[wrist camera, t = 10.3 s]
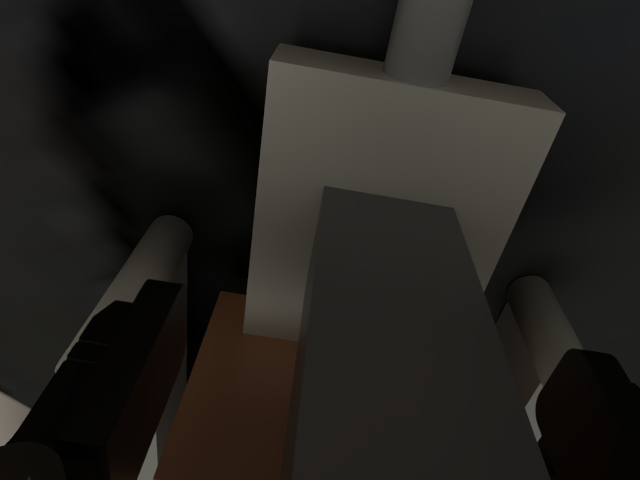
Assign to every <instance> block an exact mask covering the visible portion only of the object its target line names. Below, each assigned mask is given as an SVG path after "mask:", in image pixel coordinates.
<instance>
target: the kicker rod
mask: <svg viewBox="0 0 640 480" xmlns="http://www.w3.org/2000/svg"><path fill="white" fill-rule="evenodd" d="M472 4H473V0H398V5H397V9H396V14H395V18H394V22H393V27H392V31H391V36H390V40H389V44H388V49H387V53H386V58H385V62H381V61H376V60H370V59H365V58H359V57H354V56H348V55H343V54H337V53H332V52H326V51H321V50H315V49H310V48H304V47H299V46H293V45H288V44H283V43H280V44H279V45H278V47H277V48H276V50H275V52H274V53H273V55H272V56H271V58H270V60H269V69H268V79H267V89H266V100H265V110H264V120H263V130H262V141H261V151H260V161H259V172H258V182H257V192H256V203H255V213H254V223H253V233H252V244H251V254H250V264H249V275H248V285H247V295H242V294H236V293H229V292H223V291H221V292H220V294H219V297H218V300H217V303H216V306H215V308H214V311H213V314H212V317H211V319H210V322H209V325H208V328H207V330H206V333H205V336H204V339H203V341H202V344H201V347H200V350H199V353H198V355H197V358H196V361H195V364H194V366H193V369H192V372H191V375H190V377H189V380H188V383H187V386H186V389H185V391H184V394H183V397H182V400H181V402H180V405H179V408H178V411H177V413H176V416H175V419H174V422H173V425H172V427H171V430H170V433H169V436H168V438H167V441H166V444H165V447H164V449H163V452H162V455H161V458H160V460H159V463H158V466H157V469H156V472H155V474H154V477H153V480H550V477H549V474H548V471H547V469H546V466H545V463H544V460H543V457H542V454H541V452H540V449H539V446H538V443H537V440H536V438H535V435H534V432H533V429H532V426H531V424H530V421H529V418H528V415H527V412H526V409H525V407H524V404H523V401H522V398H521V395H520V393H519V390H518V387H517V384H516V381H515V379H514V376H513V373H512V370H511V367H510V364H509V362H508V359H507V356H506V353H505V350H504V348H503V345H502V342H501V339H500V336H499V333H498V331H497V328H496V325H495V322H494V319H493V317H492V314H491V311H490V308H489V305H488V303H487V300H486V297H485V294H484V291H485V289H486V287H487V285H488V282H489V280H490V278H491V276H492V274H493V271H494V269H495V267H496V265H497V263H498V261H499V258H500V256H501V254H502V252H503V250H504V248H505V245H506V243H507V241H508V239H509V237H510V234H511V232H512V230H513V228H514V226H515V224H516V221H517V219H518V217H519V215H520V213H521V211H522V208H523V206H524V204H525V202H526V200H527V197H528V195H529V193H530V191H531V189H532V187H533V184H534V182H535V180H536V178H537V176H538V174H539V171H540V169H541V167H542V165H543V163H544V160H545V158H546V156H547V154H548V152H549V150H550V147H551V145H552V143H553V141H554V139H555V137H556V134H557V132H558V130H559V128H560V126H561V123H562V121H563V119H564V117H565V115H566V113H565V112H564V111H563V110H561V109H560V108H559V107H558V106H557V105H556V104H555V103H554V102H552V101H551V100H550V99H549V98H548V97H547V96H546V95H545V94H543V93H542V92H541V91H540V90H535V89H529V88H524V87H518V86H513V85H507V84H502V83H496V82H491V81H486V80H480V79H475V78H469V77H464V76H458V75H453V74H451V72H452V69H453V66H454V62H455V59H456V56H457V53H458V49H459V46H460V43H461V40H462V36H463V33H464V30H465V27H466V23H467V20H468V17H469V14H470V10H471V7H472Z"/></svg>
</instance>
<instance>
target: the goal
mask: <svg viewBox="0 0 640 480" xmlns="http://www.w3.org/2000/svg"><path fill="white" fill-rule="evenodd" d="M192 242H193V231H192V229H191V227H190V226H189V225H188V224H187V223H186V222H185V221H184V220H183V219H181V218H179V217H176V216H172V215H163V216H160V217H158V218H156V219H155V220H154V221H153V223H152V224H151V226H150V227H149V229H148V230H147V232H146V233H145V235H144V236H143V237H142V239H141V240H140V242H139V243H138V245H137V246H136V248H135V249H134V251H133V252H132V254H131V255H130V257H129V258H128V260H127V261H126V263H125V264H124V266H123V267H122V269H121V270H120V272H119V273H118V275H117V276H116V278H115V279H114V281H113V282H112V284H111V285H110V287H109V288H108V289H107V291H106V292H105V294H104V295H103V297H102V298H101V300H100V301H99V303H98V304H97V306H96V307H95V309H94V310H93V312H92V313H91V315H90V316H89V318H88V319H87V321H86V322H85V324H84V325H83V327H82V328H81V330H80V331H79V333H78V334H77V336H76V337H75V339H74V340H73V341H72V343H71V344H70V346H69V347H68V349H67V350H66V352H65V353H64V355H63V356H62V358H61V359H60V361H59V362H58V364H57V365H56V368H55V373H56V372H57V370H58V369H59V367H60V366H61V364H62V363H63V361H66V359H67V355H68V353H69V352H70V350H71V349H72V347H73V346H74V344H75V343H76V342H78V341H79V337H80V335H81V334H82V332H83V331H84V329H85V328H86V326H87V325H88V323H89V322H90V320H91V319H92V317H93V316H94V315H96V314H97V313H99V312H100V311H101V310H103V309H104V308H105V307H107V306H108V305H110V304H111V303H112V302H114V301H115V300H119V301H125V302H131V303H133V301H134V300H135V298H136V296H137V294H138V293H139V291H140V289H141V288H142V286H143V284H144V283H145V281H146V280H148V279H154V280H160V281H166V282H172V283H178V284H185V285H186V287H187V252H188V250H189V248H190V246H191V244H192ZM506 298H507V303H506V305H505V307H504V309H503V311H502V313H501V315H500V317H499V319H498V321H497V323H496V328H497V331H498V333H499V336H500V339H501V342H502V345H503V348H504V350H505V353H506V356H507V359H508V362H509V364H510V367H511V370H512V373H513V376H514V379H515V381H516V384H517V387H518V390H519V393H520V395H521V398H522V401H523V404H524V407H525V409H526V412H527V415H528V418H529V421H530V424H531V426H532V429H533V432H534V435H535V438H536V440H537V442H538V440H539V439H540V437H541V436H542V435H541V433H540V430H539V427H538V424H537V421H536V414H535V407H536V401H537V397H538V395H539V393H540V391H541V390H542V388H543V386H544V385H545V383H546V382H547V380H548V379H549V377H550V376H551V374H552V372H553V371H554V369H555V368H556V366H557V365H558V363H559V362H560V360H561V358H562V357H563V355H564V354H565V353H566V352H567V351H568V350H569V349H572V348H576V349H582V350H584V349H583V347H582V345H581V343H580V341H579V340H578V338H577V336H576V334H575V332H574V330H573V329H572V327H571V325H570V323H569V321H568V319H567V317H566V316H565V314H564V312H563V310H562V308H561V306H560V305H559V303H558V301H557V299H556V297H555V295H554V294H553V292H552V290H551V288H550V286H549V284H548V283H547V281H546V280H545V279H543V278H541V277H539V276H524V277H521V278H518V279H517V280H515V281H513V282H512V283H511V284H510V285H509V287H508V288H507V291H506ZM186 386H187V343H186V349H185V354H184V358H183V362H182V365H181V368H180V371H179V373H178V376H177V378H176V381H175V383H174V386H173V389H172V391H171V394H170V396H169V399H168V401H167V404H166V407H165V409H164V412H163V414H162V417H161V419H160V422H159V425H158V427H157V430H156V432H155V435H154V437H153V440H152V443H151V445H150V448H149V450H148V453H147V455H146V458H145V461H144V463H143V466H142V468H141V471H140V473H139V476H138V479H137V480H153V477H154V474H155V472H156V469H157V466H158V463H159V460H160V458H161V455H162V452H163V449H164V447H165V444H166V441H167V438H168V436H169V433H170V430H171V427H172V425H173V422H174V419H175V416H176V413H177V411H178V408H179V405H180V402H181V400H182V397H183V394H184V391H185V389H186Z"/></svg>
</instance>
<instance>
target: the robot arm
mask: <svg viewBox="0 0 640 480" xmlns="http://www.w3.org/2000/svg"><path fill="white" fill-rule="evenodd" d="M186 343H187V287H186V285H185V284H178V283H172V282H166V281H160V280H154V279H148V280H146V281H145V283H144V284H143V286H142V288H141V289H140V291H139V293H138V294H137V296H136V298H135V300H134V301H133V303H131V302H125V301H119V300H115V301H114V302H112V303H111V304H110V305H108V306H107V307H105V308H104V309H103V310H101V311H100V312H99V313H97V314H96V315H94V316H93V317H92V319H91V320H90V322H89V323H88V325H87V326H86V328H85V329H84V331H83V332H82V334H81V335H80V337H79V341H78V342H76V343H75V344H74V346H73V347H72V349H71V350H70V352H69V353H68V355H67V359H66V361H63V363H62V364H61V366H60V367H59V369H58V370H57V372H56V373H55V375H54V376H53V378H52V379H51V381H50V382H49V384H48V385H47V387H46V388H45V390H44V391H43V393H42V394H41V396H40V397H39V399H38V400H37V402H36V403H35V405H34V406H33V408H32V409H31V411H30V412H29V414H28V415H27V417H26V418H25V420H24V421H23V423H22V424H21V426H20V427H19V429H18V430H17V432H16V433H15V434H14V436H13V437H12V438H11V439H10V441H8V442H7V443H6V445H4V446H1V447H0V480H137V479H138V476H139V473H140V471H141V468H142V466H143V463H144V461H145V458H146V455H147V453H148V450H149V448H150V445H151V443H152V440H153V437H154V435H155V432H156V430H157V427H158V425H159V422H160V419H161V417H162V414H163V412H164V409H165V407H166V404H167V401H168V399H169V396H170V394H171V391H172V389H173V386H174V383H175V381H176V378H177V376H178V373H179V371H180V368H181V365H182V362H183V358H184V354H185V349H186ZM535 414H536V421H537V424H538V427H539V430H540V433H541V435H542V438H543V441H544V444H545V446H546V449H547V452H548V454H549V457H550V460H551V463H552V465H553V468H554V471H555V473H556V476H557V479H558V480H640V388H639V387H638V386H637V385H636V384H635V383H631V382H630V380H629V378H628V377H627V375H626V373H625V372H624V370H623V368H622V367H621V365H620V363H619V362H618V360H617V359H616V358H615V357H614V356H612V355H611V354H607V353H601V352H594V351H588V350H582V349H576V348H572V349H569V350H568V351H567V352H566V353H565V354H564V355H563V357H562V358H561V360H560V362H559V363H558V365H557V366H556V368H555V369H554V371H553V372H552V374H551V376H550V377H549V379H548V380H547V382H546V383H545V385H544V386H543V388H542V390H541V391H540V393H539V395H538V397H537V401H536V407H535Z"/></svg>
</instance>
